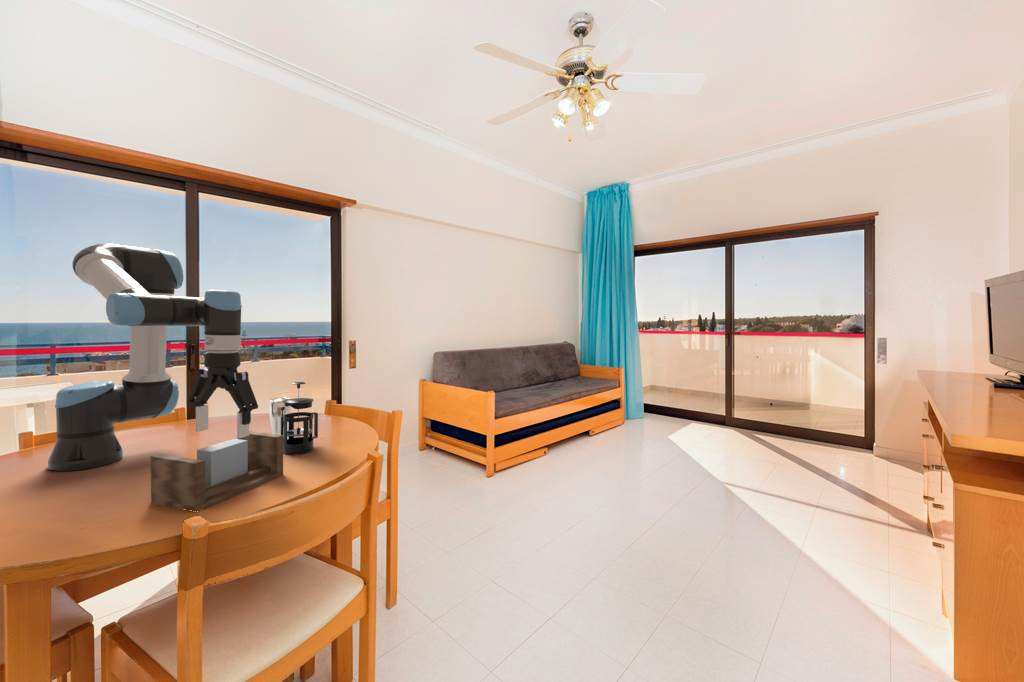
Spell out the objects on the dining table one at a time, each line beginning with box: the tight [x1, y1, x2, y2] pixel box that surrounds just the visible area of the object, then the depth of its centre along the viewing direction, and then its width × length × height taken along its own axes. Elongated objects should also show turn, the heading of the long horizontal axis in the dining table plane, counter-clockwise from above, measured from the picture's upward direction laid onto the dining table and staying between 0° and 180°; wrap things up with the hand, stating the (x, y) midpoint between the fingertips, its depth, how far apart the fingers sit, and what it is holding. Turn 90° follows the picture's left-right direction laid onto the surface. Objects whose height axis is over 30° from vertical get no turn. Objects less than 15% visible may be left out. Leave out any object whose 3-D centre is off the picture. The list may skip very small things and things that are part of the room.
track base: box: [150, 430, 284, 513], centre depth 104 cm, size 14×24×11 cm, turn 165°
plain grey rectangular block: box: [196, 438, 248, 489], centre depth 104 cm, size 4×10×10 cm, turn 165°
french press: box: [283, 381, 319, 456], centre depth 134 cm, size 12×9×23 cm
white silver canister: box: [268, 397, 293, 441], centre depth 144 cm, size 7×7×15 cm
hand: (222, 433), depth 103 cm, fingers open, 13 cm apart
